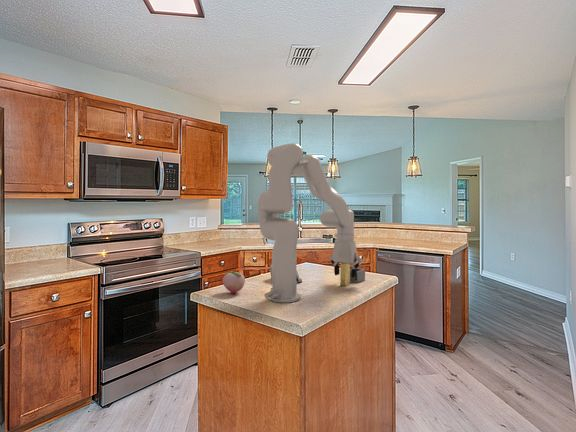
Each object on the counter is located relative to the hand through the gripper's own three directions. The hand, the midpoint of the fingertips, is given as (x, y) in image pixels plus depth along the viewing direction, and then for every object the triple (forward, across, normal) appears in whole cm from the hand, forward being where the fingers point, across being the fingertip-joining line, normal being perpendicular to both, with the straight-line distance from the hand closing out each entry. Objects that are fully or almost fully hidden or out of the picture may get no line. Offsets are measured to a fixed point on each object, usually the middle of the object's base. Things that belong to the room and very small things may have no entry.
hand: (345, 275), depth 153 cm
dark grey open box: (+4, 0, +10) cm, 11 cm away
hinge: (+4, -26, -11) cm, 29 cm away
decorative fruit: (+4, -30, -40) cm, 50 cm away
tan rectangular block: (+4, 0, 0) cm, 4 cm away
